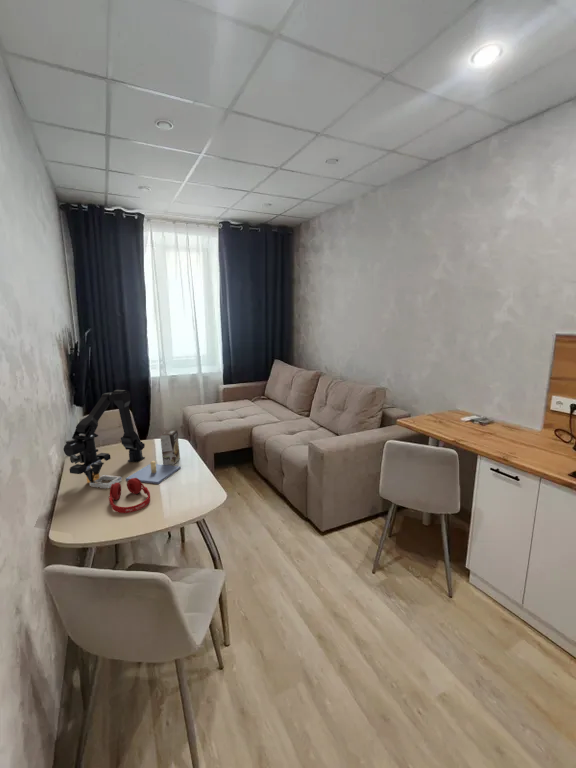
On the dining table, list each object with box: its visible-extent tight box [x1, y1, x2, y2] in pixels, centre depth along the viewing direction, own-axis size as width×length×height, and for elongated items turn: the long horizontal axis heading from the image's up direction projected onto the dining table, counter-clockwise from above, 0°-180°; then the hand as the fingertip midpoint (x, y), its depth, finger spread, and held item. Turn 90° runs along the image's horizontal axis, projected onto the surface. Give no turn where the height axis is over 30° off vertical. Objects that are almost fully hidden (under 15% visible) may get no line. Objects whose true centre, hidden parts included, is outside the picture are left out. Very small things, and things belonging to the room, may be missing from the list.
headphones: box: [108, 478, 151, 514], centre depth 151 cm, size 15×7×20 cm
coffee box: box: [159, 429, 181, 466], centre depth 192 cm, size 9×6×16 cm
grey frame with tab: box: [85, 472, 122, 489], centre depth 170 cm, size 15×8×4 cm, turn 73°
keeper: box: [125, 460, 181, 485], centre depth 177 cm, size 18×18×7 cm
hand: (93, 480), depth 172 cm, fingers closed on grey frame with tab, 2 cm apart
